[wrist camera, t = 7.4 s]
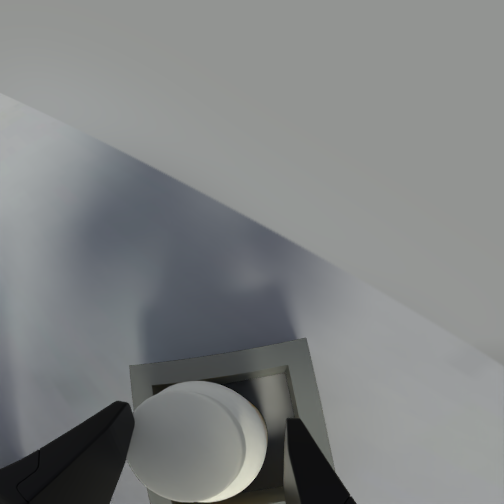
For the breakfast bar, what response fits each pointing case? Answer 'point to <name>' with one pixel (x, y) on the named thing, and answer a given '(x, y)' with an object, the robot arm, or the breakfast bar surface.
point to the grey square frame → (238, 369)
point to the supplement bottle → (197, 442)
